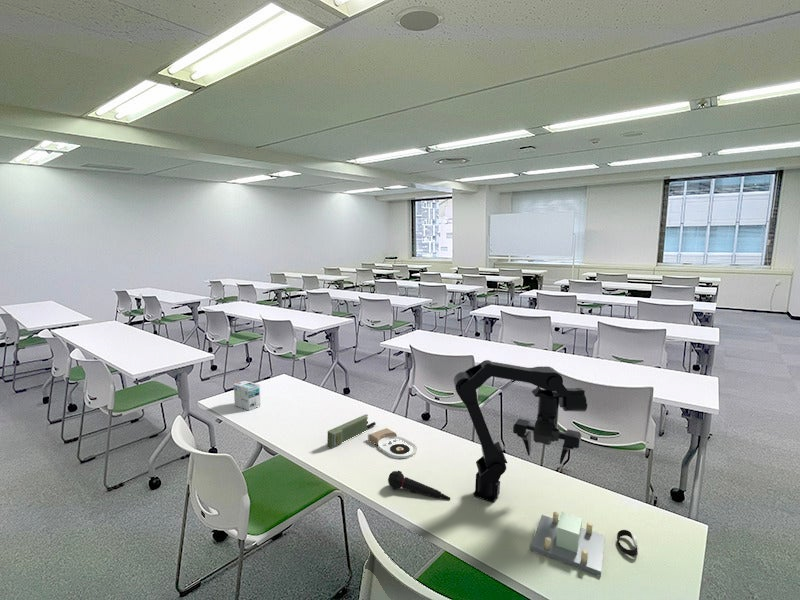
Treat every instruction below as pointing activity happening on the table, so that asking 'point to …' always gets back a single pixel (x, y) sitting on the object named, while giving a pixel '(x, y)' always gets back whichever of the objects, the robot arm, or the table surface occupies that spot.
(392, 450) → the record player
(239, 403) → the light bulb box
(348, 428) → the handheld radio
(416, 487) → the microphone
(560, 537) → the board block
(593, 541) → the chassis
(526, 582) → the table surface
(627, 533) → the watch
